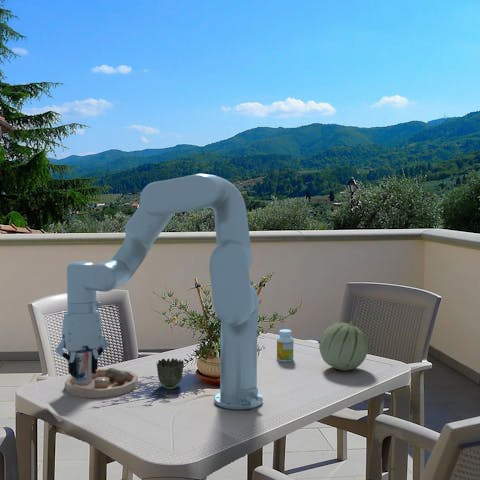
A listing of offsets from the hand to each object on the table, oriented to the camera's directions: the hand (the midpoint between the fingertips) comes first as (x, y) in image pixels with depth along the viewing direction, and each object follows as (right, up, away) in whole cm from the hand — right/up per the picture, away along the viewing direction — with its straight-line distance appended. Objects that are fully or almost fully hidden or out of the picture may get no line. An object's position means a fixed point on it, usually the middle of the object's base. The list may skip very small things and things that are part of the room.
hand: (83, 373), depth 165 cm
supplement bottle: (+57, -3, +34) cm, 66 cm away
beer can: (0, -3, 0) cm, 3 cm away
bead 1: (+6, -4, +8) cm, 11 cm away
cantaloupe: (+74, -4, +23) cm, 78 cm away
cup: (+23, -5, +3) cm, 24 cm away
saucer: (+4, -5, +3) cm, 7 cm away
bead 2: (+9, -4, +5) cm, 11 cm away
